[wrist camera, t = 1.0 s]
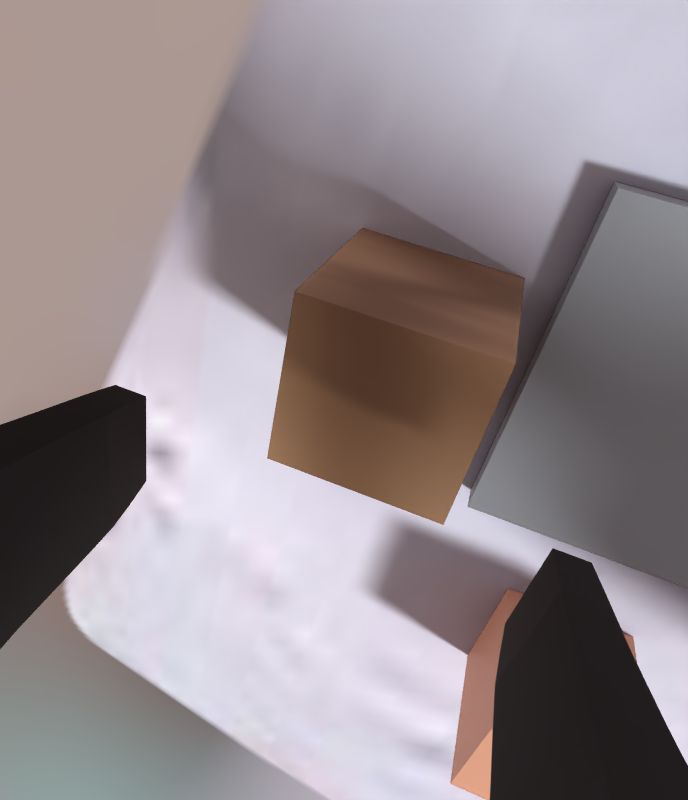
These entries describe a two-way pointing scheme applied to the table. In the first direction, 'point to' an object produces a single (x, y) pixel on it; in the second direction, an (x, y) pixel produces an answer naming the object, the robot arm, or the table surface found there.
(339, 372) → the walnut block
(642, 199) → the baseplate
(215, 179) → the table surface
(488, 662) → the terracotta block
